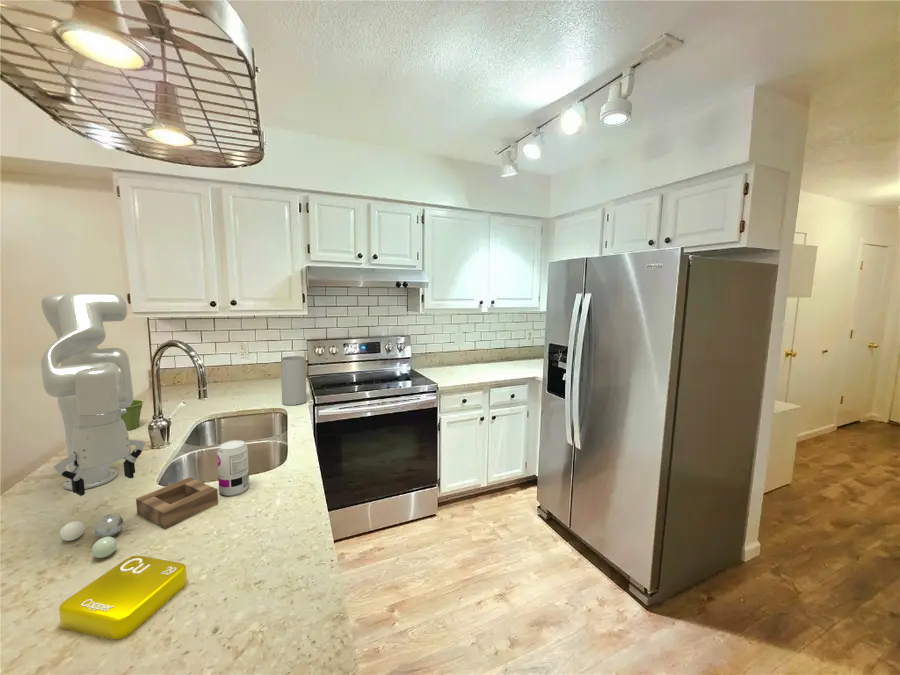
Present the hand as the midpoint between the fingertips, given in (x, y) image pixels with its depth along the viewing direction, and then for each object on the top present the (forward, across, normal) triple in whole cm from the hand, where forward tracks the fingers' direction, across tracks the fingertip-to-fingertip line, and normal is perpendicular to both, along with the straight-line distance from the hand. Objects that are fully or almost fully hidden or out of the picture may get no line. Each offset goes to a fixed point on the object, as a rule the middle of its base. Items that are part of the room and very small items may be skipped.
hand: (105, 485), depth 94 cm
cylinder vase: (+12, -102, -53) cm, 116 cm away
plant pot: (+12, -38, -82) cm, 91 cm away
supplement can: (+14, -29, +5) cm, 33 cm away
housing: (+14, -15, +1) cm, 20 cm away
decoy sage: (+12, +4, +7) cm, 14 cm away
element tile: (+15, +8, +27) cm, 32 cm away
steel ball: (+11, 0, -1) cm, 11 cm away
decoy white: (+12, +5, -7) cm, 14 cm away
